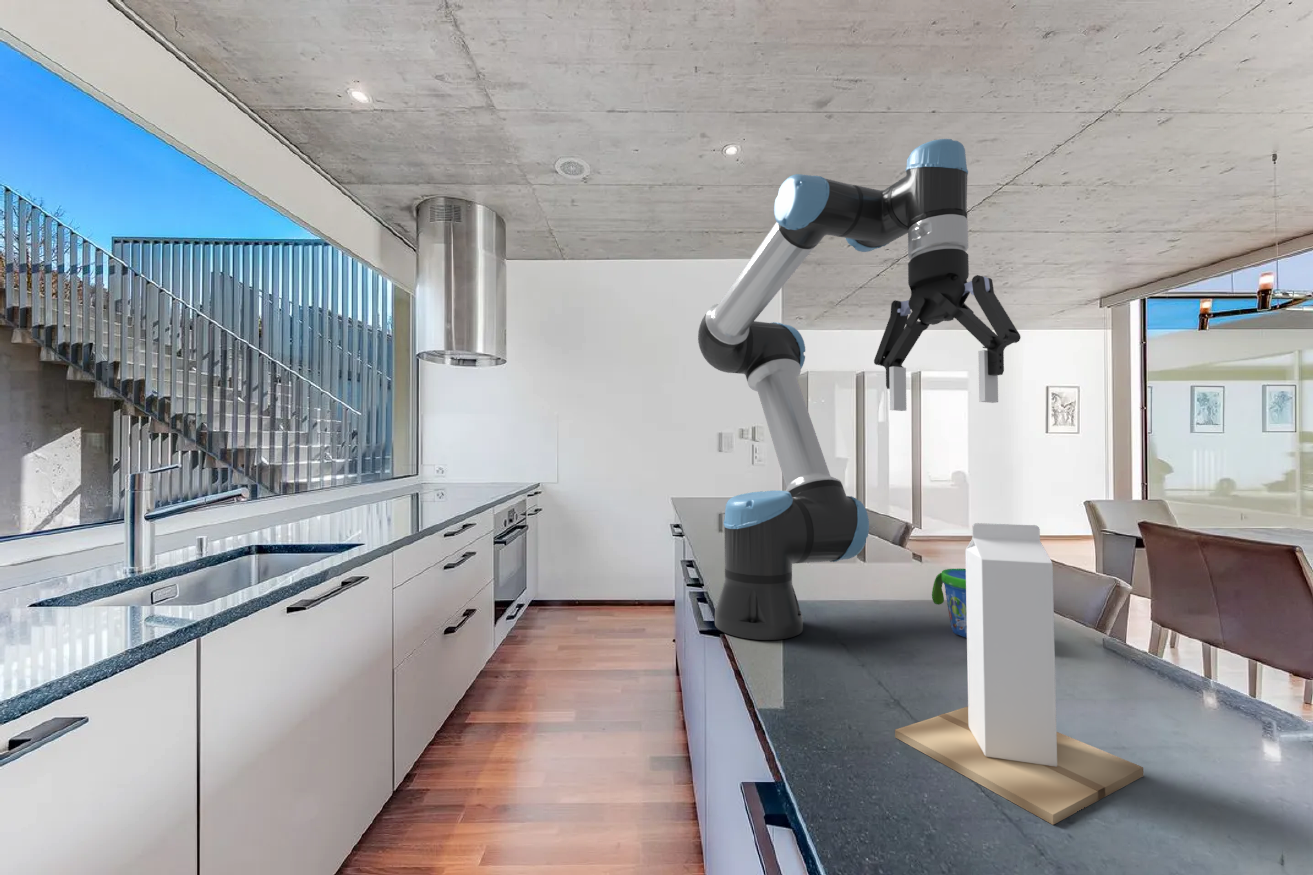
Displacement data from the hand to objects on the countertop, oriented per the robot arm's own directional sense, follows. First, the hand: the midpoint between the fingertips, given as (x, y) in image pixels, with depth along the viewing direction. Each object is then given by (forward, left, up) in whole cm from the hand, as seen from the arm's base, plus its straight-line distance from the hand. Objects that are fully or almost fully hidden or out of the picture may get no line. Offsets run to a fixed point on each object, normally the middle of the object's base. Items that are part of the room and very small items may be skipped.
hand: (939, 406), depth 74 cm
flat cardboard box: (+16, -12, -37) cm, 42 cm away
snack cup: (-8, +20, -37) cm, 43 cm away
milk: (+16, -12, -36) cm, 41 cm away
